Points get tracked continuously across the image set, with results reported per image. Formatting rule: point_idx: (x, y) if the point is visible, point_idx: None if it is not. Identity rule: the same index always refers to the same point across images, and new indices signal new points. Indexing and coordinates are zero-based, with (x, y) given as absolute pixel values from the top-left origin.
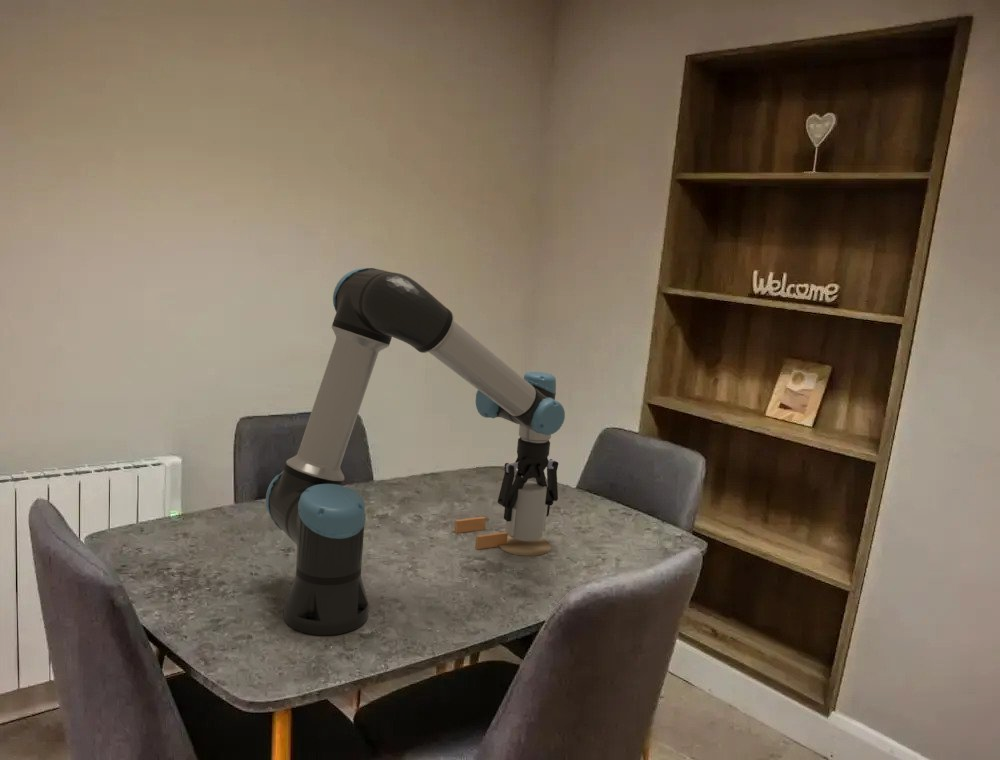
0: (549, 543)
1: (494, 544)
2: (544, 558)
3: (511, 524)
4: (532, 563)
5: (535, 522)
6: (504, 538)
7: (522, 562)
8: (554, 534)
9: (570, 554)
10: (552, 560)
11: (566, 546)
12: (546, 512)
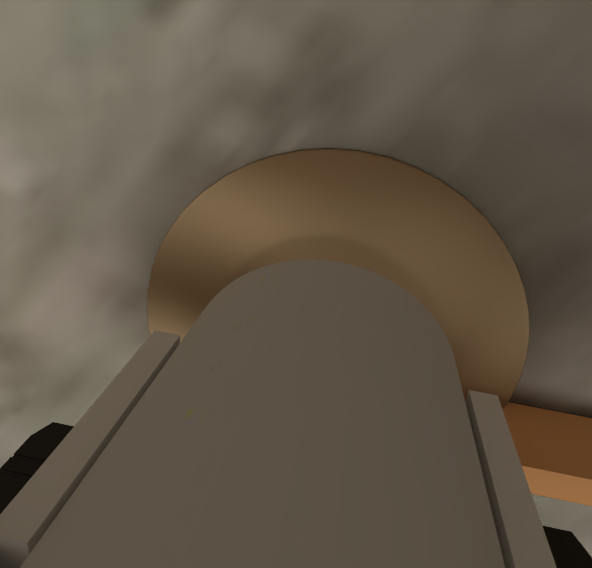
0: (158, 262)
1: (537, 418)
2: (354, 83)
3: (519, 482)
4: (528, 43)
5: (323, 357)
6: None
7: (587, 104)
8: (41, 357)
9: (106, 48)
10: (320, 14)
11: (59, 184)
12: (58, 452)
